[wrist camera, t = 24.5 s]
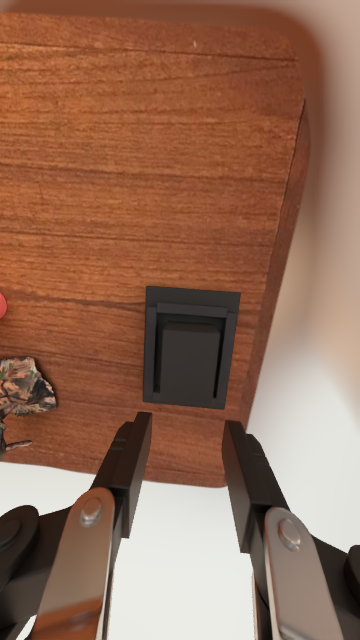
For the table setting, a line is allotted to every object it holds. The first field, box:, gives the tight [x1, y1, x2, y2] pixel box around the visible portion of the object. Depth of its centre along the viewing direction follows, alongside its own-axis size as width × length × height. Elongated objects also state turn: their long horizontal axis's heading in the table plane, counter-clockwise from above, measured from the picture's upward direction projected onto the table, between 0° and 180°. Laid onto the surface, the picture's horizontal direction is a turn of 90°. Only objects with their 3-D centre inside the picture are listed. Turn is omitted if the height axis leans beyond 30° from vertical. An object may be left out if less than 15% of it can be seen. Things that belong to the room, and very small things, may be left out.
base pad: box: [143, 286, 241, 410], centre depth 20 cm, size 14×10×3 cm
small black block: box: [160, 320, 220, 404], centre depth 18 cm, size 7×5×4 cm
